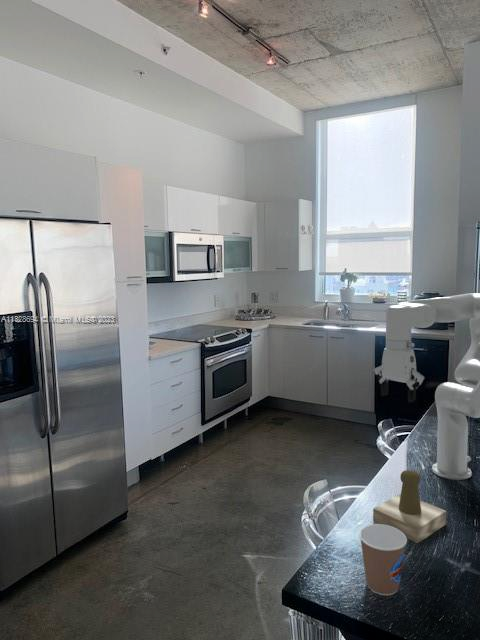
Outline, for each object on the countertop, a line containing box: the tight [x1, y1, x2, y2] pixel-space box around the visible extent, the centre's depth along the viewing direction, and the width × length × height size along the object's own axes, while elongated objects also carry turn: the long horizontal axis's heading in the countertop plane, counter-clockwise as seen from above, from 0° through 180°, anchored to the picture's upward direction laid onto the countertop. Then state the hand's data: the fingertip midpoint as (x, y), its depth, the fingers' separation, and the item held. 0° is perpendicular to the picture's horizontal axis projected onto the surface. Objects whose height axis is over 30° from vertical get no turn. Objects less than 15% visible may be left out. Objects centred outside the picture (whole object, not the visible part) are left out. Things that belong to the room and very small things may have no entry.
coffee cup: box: [358, 523, 408, 596], centre depth 109 cm, size 10×10×12 cm
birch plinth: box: [372, 493, 447, 544], centre depth 135 cm, size 14×14×4 cm
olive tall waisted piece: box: [399, 469, 421, 515], centre depth 134 cm, size 6×6×11 cm
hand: (397, 398), depth 152 cm, fingers open, 9 cm apart
